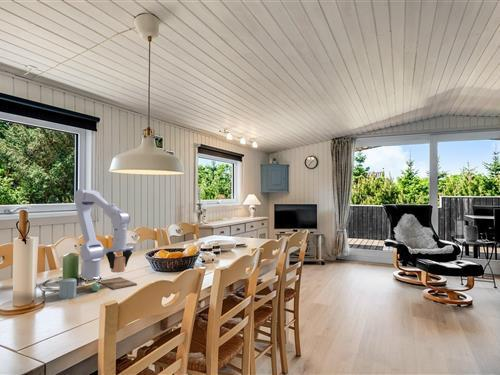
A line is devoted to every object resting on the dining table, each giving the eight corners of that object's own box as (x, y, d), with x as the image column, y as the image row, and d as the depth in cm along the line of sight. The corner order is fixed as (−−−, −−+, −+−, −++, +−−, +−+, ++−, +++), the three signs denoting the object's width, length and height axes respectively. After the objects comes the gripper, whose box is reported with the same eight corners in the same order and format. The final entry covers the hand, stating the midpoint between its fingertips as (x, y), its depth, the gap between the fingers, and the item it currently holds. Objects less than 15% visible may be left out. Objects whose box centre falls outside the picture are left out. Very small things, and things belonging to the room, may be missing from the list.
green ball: (90, 291, 134) (90, 283, 134) (97, 289, 136) (98, 282, 136) (93, 292, 132) (93, 285, 132) (100, 291, 134) (101, 284, 134)
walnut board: (97, 282, 147) (97, 280, 147) (120, 278, 156) (120, 276, 156) (113, 289, 137) (113, 288, 137) (137, 285, 145) (137, 283, 145)
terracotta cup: (109, 270, 146) (110, 256, 146) (121, 269, 150) (121, 255, 151) (115, 273, 142) (115, 258, 143) (126, 271, 147) (127, 257, 147)
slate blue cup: (57, 296, 125) (58, 279, 126) (72, 293, 130) (73, 277, 130) (62, 299, 122) (63, 282, 122) (77, 296, 126) (78, 280, 126)
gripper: (108, 240, 139) (106, 271, 138) (138, 238, 150) (136, 266, 149) (101, 238, 144) (99, 268, 143) (131, 236, 155) (129, 264, 154)
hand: (118, 267), depth 147 cm, fingers closed on terracotta cup, 6 cm apart
